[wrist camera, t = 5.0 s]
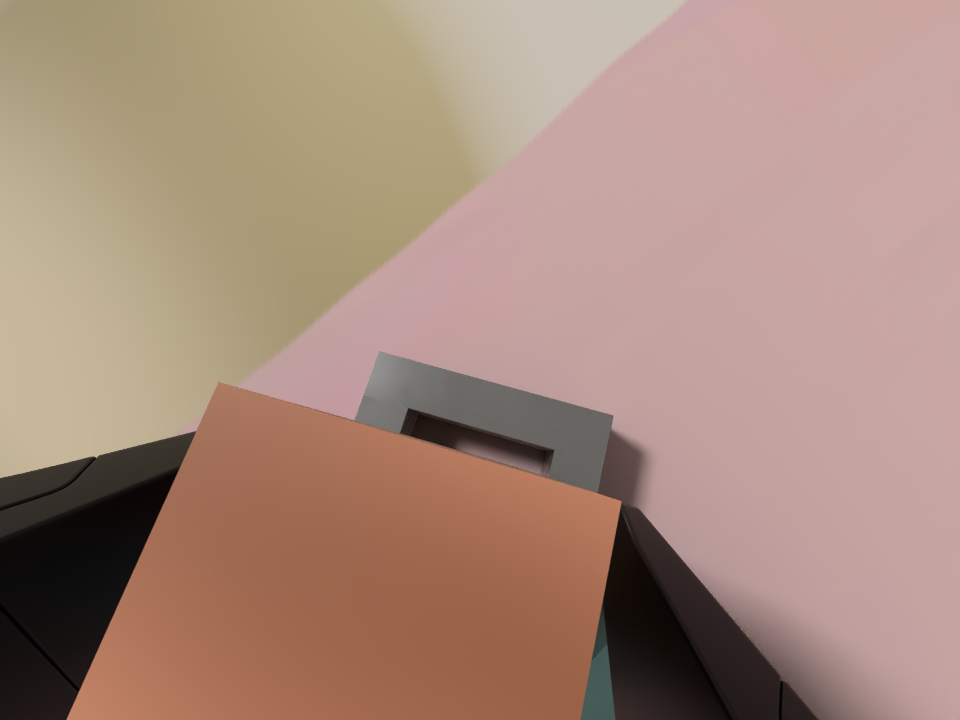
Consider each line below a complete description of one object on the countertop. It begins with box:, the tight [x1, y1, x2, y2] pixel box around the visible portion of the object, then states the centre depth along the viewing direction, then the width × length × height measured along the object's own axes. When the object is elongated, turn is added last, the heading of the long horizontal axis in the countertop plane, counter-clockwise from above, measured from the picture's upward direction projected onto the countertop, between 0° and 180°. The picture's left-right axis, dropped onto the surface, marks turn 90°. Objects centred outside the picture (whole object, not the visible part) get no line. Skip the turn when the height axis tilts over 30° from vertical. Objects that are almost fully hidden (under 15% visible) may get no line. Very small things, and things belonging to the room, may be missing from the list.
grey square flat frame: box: [355, 351, 613, 493], centre depth 15 cm, size 9×9×2 cm
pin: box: [67, 383, 622, 720], centre depth 9 cm, size 4×4×13 cm
